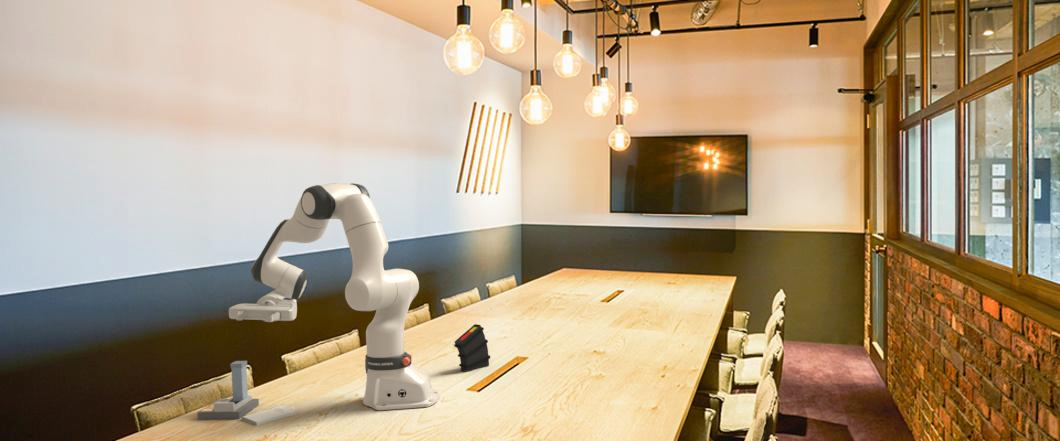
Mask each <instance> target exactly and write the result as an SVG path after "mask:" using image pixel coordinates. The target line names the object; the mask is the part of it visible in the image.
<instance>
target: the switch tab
mask: <svg viewBox="0 0 1060 441" xmlns="http://www.w3.org/2000/svg"><path fill="white" fill-rule="evenodd" d="M247 365H248V360H235V361H233V362H231V363H230V365H229V366H230V370H231V387H232V388H231V389H232V390H231V392H232V397H233V402H239V401H242V400H243V399H245V398H246V397H248V396H249V393H248V376H247V375H248V374H247V369H248V368H247Z"/></svg>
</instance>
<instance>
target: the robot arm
mask: <svg viewBox="0 0 1060 441" xmlns="http://www.w3.org/2000/svg"><path fill="white" fill-rule="evenodd" d="M330 220H339V221H341V223H342V226H343V231H344V234H345V236H346V240H347V243H348V247H349V250H350V253H351V259H352V269H351V270H352V271H351V276H350V279H349V281H348V282H347V284H346V285H345V289H344V297H345V301H346V302H347V304H348V306H349V307H350V308H351V309H352V310H354V311H358V312H359V311H360V312H373V311H375V314H374V317H373V319H372V320H371V322H370V323H369V324H368V325H367V327H366V331H365V342H366V343H365V344H366V346H365V347H366V354H365V356H364V357H365V360H364V366H365V367H364V368H365V374H366V383H365V391H364V396H363V400H362V403H363V405H365V406H367V407H370V408H373V409H374V410H375V411H389V410H400V409H401V410H404V409H413V408H414V409H415V408H416V409H417V408H427V407H430V406H432V405H435V404H436V403H437V402H438V401H439V399H440V392H439V391H438V390H437V389H433V388H432V383H431V382H432V381H431V380H430V377H429V375H428V374H426V373H424V372H423V371H422V370H420V369H419V368H417V367H416V366H415V365H413V364H412V356H413V354H412V353H410V354H409V353H408V352H406V351H405V324H406V319H407V315H408V312H409V308H410V306H411V303H412V302H413V300H414V299H415V298H416V297H417V295H418V293H419V289H420V282H419V280H418V276H417V275H416V274H415V272H413V270H410V269H405V268H404V269H403V268H392V269H386V270H385V267H384V257H385V255H386V254H387V252H388V250H389V242H388V239H387V236H386V233H385V230H384V227H383V224H382V222H381V221H382V220H381V218H380V216H379V214H378V211H377V209H376V207H375V205H374V203H373V201H372V200H371V197H370V193H369V191H368V189H367V187H365V186H364V185H362V184H359V183H328V184H327V183H326V184H321V185H320V184H319V185H318V184H316V185H312V186H309V187H307V188H305V189H304V191H303V192H302V194H301V197H300V198H299V200H298V202H297V205H296V207H295V209H294V213H293V215H292V217H291V218H289V219H283V220H282V221H281V222H280V223H279V224H278V225H277V227H276V228H275V229H274V231H273V232H272V234H271V236H270V238H269V239H268V240H267V243H266V244H265V246H264V248H263V249H262V250H261V253H260V255H259V256H258V257H257V258H256V259H255V260H254V262H253V264H252V266H251V269H250V274H251V277H252V280H254V282H256V283H260V284H263V285H266V286H268V287H271V289H274V290H273V291H271V292H269V293H267V294H265V295H263V296H262V297H260V298H259V299H258V300H257V302H256V303H246V302H245V303H238V304H237V303H236V304H235V305H233V306H231V307H229V308H228V317H229V319H231V320H236V321H244V320H254V321H256V320H257V321H263V322H265V323H266V322H267V323H273V322H277V321H281V322H282V321H283V322H285V321H286V322H287V321H288V322H290V321H294V320H295V319H296V318H297V313H298V305H297V301H298V300H300V299H301V298H302V296H303V294H304V293H305V291H306V288H307V286H308V284H309V282H308V275H307V273H306V271H305V270H304V269H302V268H299V267H298V266H296V265H294V264H290V263H289V262H286V261H285V260H282V259H280V258H279V257H278V256H277V253H278V251H279V250H280V248H281V246H282V245H283V243H285V242H286V243H287V242H291V243H298V244H311V243H314V242H316V241H318V240H319V239H321V238H322V237H323V235H324V233H325V231H326V230H327V227H328V224H329V223H330Z"/></svg>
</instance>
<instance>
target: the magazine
mask: <svg viewBox="0 0 1060 441" xmlns="http://www.w3.org/2000/svg"><path fill="white" fill-rule="evenodd" d="M454 343H455V344H453V346H454V348H456V349H457V352H458V354H457V357H459V359H460V363H459V364H458V366H459V367H460V371H463V372H465V373H467V372H471V371H473V370H477V369H481V368H486V367H489V366H490V359H491V355H489V348H488V343H489V340H488V339H486V335H485V333H484V326H483V327H482V325H481V324H477V323H475V324H473V325H472V326H471V327H470V328H469V329H467V330H466V331H465V332H464V333H463V334H462V335H460V336H459V337H458V338H457V339H456V340H455V341H454Z"/></svg>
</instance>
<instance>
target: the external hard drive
mask: <svg viewBox="0 0 1060 441" xmlns="http://www.w3.org/2000/svg"><path fill="white" fill-rule="evenodd" d="M297 414H299V410H298V409H297V408H293V407H291V406H287V405H284V404H283V405H278V406H275V407H272V408H268V409H265V410H261V411H257V412H254V413H251V414H248V415H247V414H246V415H244V416H243V417H241V420H242V421H244V422H246V421H247V422H246V423H249V424H252V425H254V426H256V427H257V426H260V425H263V424H268V423H270V422H274V421H277V420H280V419H283V418H286V417H290V416H293V415H297Z"/></svg>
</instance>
